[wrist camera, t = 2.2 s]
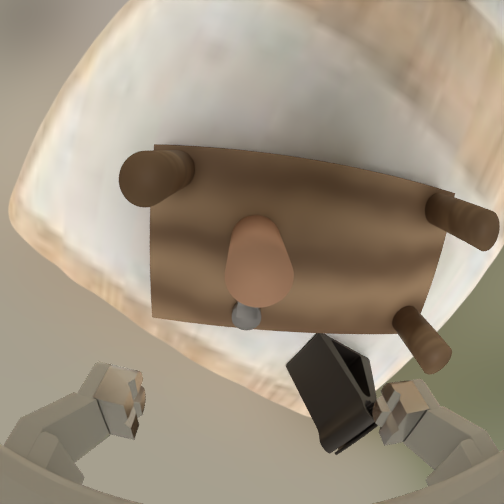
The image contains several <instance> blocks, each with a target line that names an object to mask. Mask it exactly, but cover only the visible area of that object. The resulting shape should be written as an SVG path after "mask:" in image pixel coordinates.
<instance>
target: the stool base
mask: <svg viewBox="0 0 504 504" xmlns="http://www.w3.org/2000/svg"><path fill="white" fill-rule="evenodd" d="M119 185H120V189H121V191H122V193H123V195H124V197H125V198H126V199H127V200H128V201H129V202H130V203H132V204H134V205H136V206H139V207H150V280H151V303H152V317H154V318H161V319H168V320H175V321H182V322H190V323H198V324H207V325H216V326H225V327H236V326H235V325H234V324H233V322H232V309H233V307H234V305H235V304H236V303H238V301H237V300H236V299H234V298H233V297H232V295H231V294H230V293H229V291H228V289H227V287H226V284H225V269H226V263H227V257H228V252H229V246H230V240H231V235H232V231H233V229H234V227H235V225H236V224H237V223H238V222H239V221H240V220H241V219H243V218H245V217H247V216H251V215H261V216H264V217H267V218H269V219H270V220H271V221H273V222H274V223H275V225H276V226H277V228H278V230H279V233H280V235H281V238H282V240H283V243H284V245H285V248H286V251H287V253H288V256H289V258H290V261H291V264H292V267H293V271H294V280H293V284H292V287H291V289H290V291H289V293H288V294H287V295H286V296H285V297H284V298H283V299H282V300H281V301H279V302H278V303H276V304H274V305H271V306H268V307H261V308H260V310H261V322H260V324H259V325H258V326H257V327H256V328H254V329H259V330H272V331H288V332H306V333H333V334H398V335H399V336H400V338H401V339H402V340H403V342H404V343H405V345H406V346H407V347H408V349H409V350H410V352H411V353H412V355H413V356H414V358H415V359H416V360H417V362H418V363H419V365H420V366H421V368H422V369H423V371H424V372H425V373H426V374H434V373H436V372H438V371H439V370H441V369H442V368H443V367H444V366H445V365H446V364H447V363H448V361H449V360H450V358H451V354H452V350H451V348H450V347H449V346H448V345H447V344H446V342H445V341H444V340H443V339H442V338H441V336H440V335H439V334H438V333H437V332H436V331H435V330H434V328H433V327H432V326H431V325H430V324H429V323H428V322H427V321H426V319H425V318H424V317H423V316H422V315H421V311H422V308H423V306H424V303H425V300H426V298H427V295H428V292H429V289H430V286H431V283H432V280H433V277H434V274H435V271H436V268H437V265H438V261H439V258H440V255H441V251H442V247H443V244H444V240H445V236H446V232H448V233H450V234H452V235H454V236H455V237H457V238H459V239H461V240H463V241H465V242H467V243H468V244H470V245H472V246H474V247H476V248H477V249H479V250H481V251H487V250H489V249H490V248H491V247H492V246H493V245H494V244H495V242H496V240H497V237H498V234H499V219H498V216H497V215H496V213H495V212H493V211H491V210H488V209H485V208H483V207H480V206H477V205H474V204H471V203H469V202H466V201H463V200H460V199H457V198H454V196H455V193H452V192H449V191H446V190H442V189H439V188H436V187H432V186H429V185H425V184H421V183H418V182H414V181H410V180H407V179H403V178H399V177H395V176H391V175H386V174H382V173H378V172H373V171H369V170H364V169H360V168H355V167H350V166H345V165H340V164H335V163H329V162H323V161H318V160H312V159H306V158H299V157H293V156H286V155H279V154H271V153H263V152H255V151H246V150H236V149H225V148H213V147H199V146H182V145H155V144H154V151H140V152H137V153H135V154H133V155H131V156H130V157H129V158H128V159H127V160H126V161H125V162H124V164H123V165H122V167H121V170H120V174H119ZM236 328H237V327H236Z"/></svg>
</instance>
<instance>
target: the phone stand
mask: <svg viewBox="0 0 504 504" xmlns="http://www.w3.org/2000/svg"><path fill="white" fill-rule="evenodd" d="M286 367H287V369H288V371H289V373H290V375H291V377H292V379H293V381H294V383H295V385H296V387H297V389H298V391H299V393H300V395H301V397H302V399H303V401H304V403H305V405H306V407H307V409H308V411H309V413H310V415H311V417H312V419H313V421H314V423H315V425H316V427H317V429H318V432H319V438H320V443H321V445H322V447H323V448H324V450H325V451H326V452H328V453H331V452H333V451H334V450H336V449H337V448H338V451H337V452H335V454H336V455H337V454H339V453H340V452H342V451H343V450H345V449H346V448H348V447H349V446H351V445H352V444H354V443H355V442H357V441H358V440H359V439H361V438H362V437H364V436H365V435H366V434H368V433H369V432H370V431H372V430H373V429H374V428H376V427H377V426H378V425H377V424H376V423H375V422H374V419H373V414H372V411H373V405H374V403H375V401H376V393H375V387H374V381H373V376H372V371H371V366H370V361H369V359H368V358H367V357H365V356H363V355H361V354H359V353H357V352H356V351H354V350H352V349H350V348H348V347H347V346H346V347H345V346H344V345H343V344H341V343H339V342H338V341H336V340H334V339H332V338H331V337H329V336H327V335H325V334H324V333H317V334H316V335H315V336H314V338H313V339H312V340H311V341H310V342H309V343H308V344H307V345H306V346H305V347H304V348H303V349H302V350H301V351H300V352H299V353H298V354H297V355H296V356H295V357H294V358H293V359H292V360H291V361H290V362H289V363H288V364H287V365H286Z"/></svg>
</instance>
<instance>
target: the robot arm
mask: <svg viewBox="0 0 504 504" xmlns="http://www.w3.org/2000/svg"><path fill="white" fill-rule="evenodd" d="M142 381H143V377H142V373H141V372H140V371H137V370H132V369H128V368H124V367H119V366H116V365H111V364H107V363H103V362H100V361H99V362H97V363H95V365H94V366H93V368H92V370H91V371H90V373H89V374H88V376H87V378H86V380H85V381H84V383H83V385H82V386H81V388H80V390H79V391H78V393H74V392H73V393H71V394H69V395H67V396H65V397H63V398H61V399H59V400H57V401H55V402H53V403H51V404H49V405H47V406H45V407H42V408H40V409H38V410H36V411H34V412H32V413H30V414H28V415H26V416H23V417H21V418H20V419H19V421H18V422H17V424H16V426H15V427H14V429H13V430H12V432H11V434H10V435H9V437H8V439H7V440H6V442H5V444H4V445H2V444H0V504H142V503H138V502H134V501H130V500H126V499H123V498H120V497H116V496H113V495H109V494H107V493H103V492H100V491H97V490H94V489H92V488H89V487H86V486H84V485H82V483H83V480H84V476H83V474H82V473H81V471H80V470H79V468H78V467H77V466H76V464H75V462H76V461H77V460H79V459H80V458H81V457H83V456H84V455H85V454H87V453H88V452H89V451H91V450H92V449H93V448H95V447H96V446H97V445H98V444H100V443H101V442H102V441H104V440H105V439H106V438H108V437H109V436H110V434H112V435H116V436H120V437H124V438H128V439H133V440H134V439H135V436H136V433H137V430H138V427H139V422H138V417H140V416H141V415H142V414H143V411H144V408H145V401H146V396H145V395H146V394H145V389H144V388H143V387H142V386H141V384H142ZM381 393H382V395H381V396H380V397H379V398H378V399H376V401H375V403H374V405H373V411H372V414H373V419H374V422H375V423H376V424H377V425H378V426H380V430H379V434H380V436H381V438H382V441H383V444H384V445H390V444H396V443H401V442H404V444H405V445H406V446H407V447H409V448H410V449H411V450H412V451H413V452H414V453H415V454H417V455H418V456H419V457H420V458H421V459H423V461H425V462H426V463H427V464H428V465H429V466H430V467H432V468H433V469H434V471H433V472H432V473H431V474H430V475H429V476H428V477H427V479H426V482H427V485H428V487H425V488H423V489H420V490H417V491H414V492H411V493H408V494H405V495H402V496H398V497H395V498H392V499H388V500H384V501H381V502H377V503H373V504H504V450H502V451H501V452H499V450H498V449H497V447H496V446H495V444H494V443H493V441H492V439H491V438H490V436H489V434H488V433H487V431H486V430H484V429H482V428H481V427H479V426H477V425H475V424H474V423H472V422H470V421H468V420H466V419H465V418H463V417H461V416H459V415H458V414H456V413H454V412H452V411H451V410H449V409H447V408H445V407H444V406H443V407H440V405H439V404H438V402H437V400H436V399H435V397H434V396H433V394H432V393H431V391H430V390H429V388H428V387H427V385H426V383H425V382H424V381H423V380H422V379H415V380H409V381H400V382H392V383H386V384H385V385H384V386H383V388H382V390H381Z"/></svg>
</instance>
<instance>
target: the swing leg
mask: <svg viewBox="0 0 504 504" xmlns="http://www.w3.org/2000/svg"><path fill="white" fill-rule="evenodd" d="M293 280H294V271H293V267H292V264H291V261H290V258H289V256H288V253H287V251H286V248H285V245H284V243H283V240H282V238H281V235H280V233H279V230H278V228H277V226H276V225H275V223H274V222H273V221H271V220H270V219H269V218H267V217H264V216H261V215H251V216H247V217H245V218H243V219H241V220H240V221H239V222H238V223H237V224H236V225H235V227H234V229H233V231H232V235H231V240H230V246H229V252H228V257H227V263H226V269H225V284H226V287H227V289H228V291H229V293H230V294H231V295H232V297H233V298H234V299H236V300H237V301H238V303H236V304H235V305H234V307H233V309H232V322H233V324H234V325H235V326H236V327H237V328H239V329H242V330H251V329H254V328H256V327H257V326H258V325H259V324H260V322H261V310H260V308H261V307H268V306H271V305H274V304H276V303H278V302H279V301H281V300H282V299H283V298H284V297H285V296H286V295H287V294H288V293H289V291H290V289H291V287H292V284H293Z"/></svg>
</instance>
